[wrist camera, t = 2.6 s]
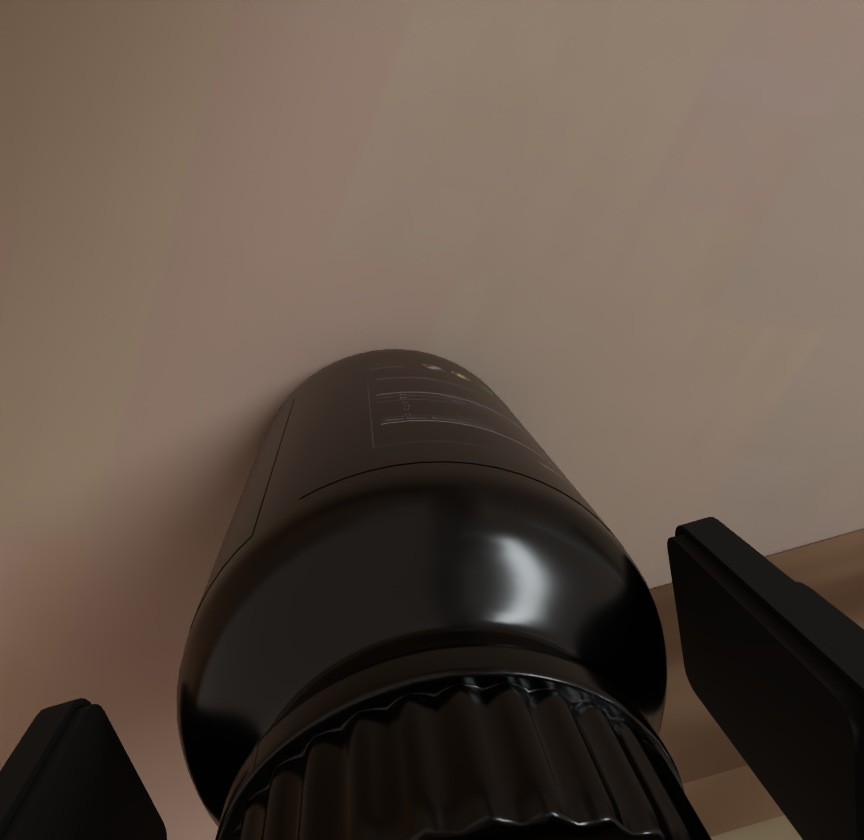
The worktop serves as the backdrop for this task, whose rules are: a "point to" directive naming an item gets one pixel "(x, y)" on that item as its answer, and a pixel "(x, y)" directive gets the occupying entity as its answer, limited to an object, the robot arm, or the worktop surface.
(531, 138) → the worktop surface
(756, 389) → the worktop surface
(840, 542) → the display riser
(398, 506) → the supplement bottle
